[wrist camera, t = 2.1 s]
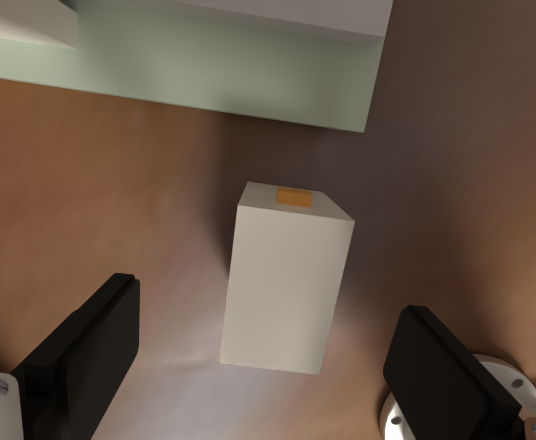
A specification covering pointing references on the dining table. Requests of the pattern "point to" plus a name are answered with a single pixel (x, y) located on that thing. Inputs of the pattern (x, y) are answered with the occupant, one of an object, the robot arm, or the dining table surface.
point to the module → (284, 278)
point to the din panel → (206, 53)
